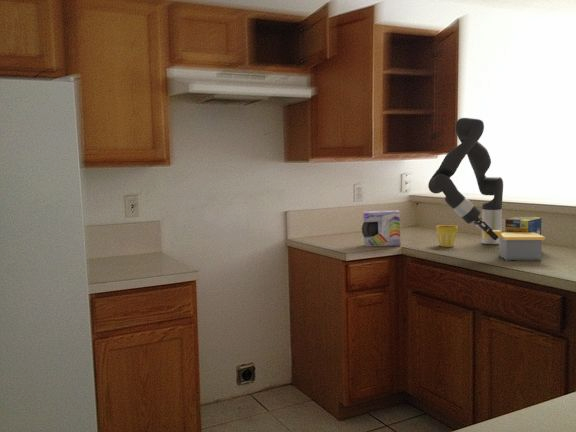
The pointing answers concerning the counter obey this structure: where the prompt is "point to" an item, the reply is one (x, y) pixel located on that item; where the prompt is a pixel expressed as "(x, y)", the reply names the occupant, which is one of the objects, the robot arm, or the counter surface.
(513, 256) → the tub
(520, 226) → the protein box
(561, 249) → the counter surface
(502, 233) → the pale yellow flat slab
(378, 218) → the cake pan box
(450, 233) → the plant pot
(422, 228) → the counter surface
